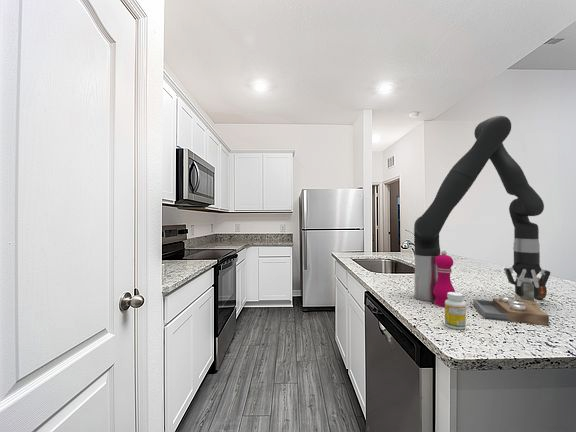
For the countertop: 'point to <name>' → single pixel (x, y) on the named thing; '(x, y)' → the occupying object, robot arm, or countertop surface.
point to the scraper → (527, 294)
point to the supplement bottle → (455, 311)
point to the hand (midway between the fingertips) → (526, 296)
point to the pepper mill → (443, 278)
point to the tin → (541, 290)
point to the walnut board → (522, 313)
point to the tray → (489, 310)
